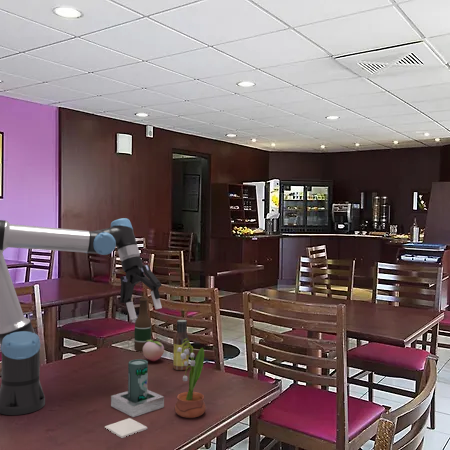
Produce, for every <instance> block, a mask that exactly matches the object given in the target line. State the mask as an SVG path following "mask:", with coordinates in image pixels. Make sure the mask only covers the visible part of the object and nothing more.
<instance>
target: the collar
mask: <svg viewBox="0 0 450 450" xmlns="http://www.w3.org/2000/svg"><path fill="white" fill-rule="evenodd" d="M110 406H111V407H112V408H114V410H115V409H116V410H117V411H120V412H122V413H124V414H125V415H127V416H129V417H130V418H135V417H139V416H141V415H144V414H149V413H151V412H153V411H157V410H160V409H162V408H163V409H164V407H165V396H163V395H162V394H159V393H157V392H154V391H151V390H149V389H147V399H146V400H143V401H140V402H137V403H133V402H131V401H129V400H128V390H127V391H124V392H119V393H117V394H113V395H110Z"/></svg>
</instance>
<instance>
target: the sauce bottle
mask: <svg viewBox="0 0 450 450" xmlns="http://www.w3.org/2000/svg"><path fill="white" fill-rule="evenodd" d="M187 324H188V320H186V319H178V320H176V325H177V326H176V328H177V329H176V333H175V334H174V336H173V361H172V362H173V369H174V370H176V371H186V369H187V367H188V366H189V365H188V366H187V365H186V366H185V365H184V362H185V361H187V362H188V363H189V361H190V360H189V359H190V357H187V356H190V353H189V354H187V355H186V358H187V359H185V358H184V360H182V359H181V354H182V350H181V352H179V351H177V350H178V348H179V347H180V346H181V345H182V344H184V342H185V341H189V342H190V338H189V335H188V332H187ZM186 338H188V340H187V339H186ZM184 339H186V340H184ZM183 340H184V341H183ZM187 344H188V342H187V343H185V345H184V348H185V347H186V346H187ZM188 345H189V344H188ZM182 347H183V345H182V346H181V347H180V348H182ZM184 348H183V353H184V350H185V349H186V348H185V349H184ZM187 349H189V350H190V347H187ZM187 370H188V369H187Z"/></svg>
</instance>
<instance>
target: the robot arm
mask: <svg viewBox="0 0 450 450" xmlns="http://www.w3.org/2000/svg"><path fill="white" fill-rule="evenodd" d="M8 248H11V249H26V250H27V249H29V250H42V251H43V250H44V251H59V252H74V253H84V254H98V255H103V256H107V255H110V254H112V253H113V251H115V249H116V250H117V253H118V257H119V261H120V262H121V263H120V264H121V268H122V270H123V272H124V273H125V275H124V276H119V280H120V283H121V284H120V295H119V296H120V297H119V302H120V304H124V305H125V308H126V309H125V310H126V311H127V312H128V315H129V320H130V321H133V320H136V319H137V318H138V315H137V313H136V309H135V305H134V302H133V300H132V299H133V298H132V297H133V294H134V288H135V287H136V285H137V284H139V283H143V284H144V285H145V286H146V287H147V288H148V289H150V295H151V298H152V302H153V306H154V309H155V310H159V309H162V308H163V307H162V303H161V294H160V291H159V288H160V287H162V283H161V281H160V280H159V279H158V278H157V277H156V275H155V273H154V272H153V271H152V270H151V267H150V265H147V264H146V265H144V264H143V260H142V257H141V256H140V255H141V254H140V251H139V247H138V243H137V239H136V235H135V231H134V228H133V226H132V222H131V221H130V219H129V218H126V217H125V218H124V217H123V218H118V219H115V220H113V221H111V223H110V227H108V228H102V229H98V230H92V231H91V230H81V229H73V228H72V229H71V228H70V229H69V228H58V227H50V226H49V227H48V226H36V225H25V224H23V225H22V224H13V223H10V222H9V221H8V220H4V219H0V350H1V374H0V375H1V384H0V415H5V416H19V415H27V414H30V413H34V412H36V411H39V410H41V409H42V408H44V407H45V405H46V396H45V393H44V391H43V387H42V384H41V381H40V380H41V379H40V375H41V374H40V372H41V371H40V367H41V366H40V363H41V361H40V356H41V355H40V354H41V349H40V348H41V341H40V337H39V335H38V334H37V333H36V332H35V330H34V327H33V323H32V322H31V319H30V318H27V317H25V315H24V312H23V309H22V307H21V303H20V300H19V298H18V295H17V292H16V289H15V286H14V283H13V281H12V277H11V275H10V272H9V268H8V265H7V262H6V259H5V257H4V256H5V255H4V251H5V250H6V249H8Z"/></svg>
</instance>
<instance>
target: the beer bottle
mask: <svg viewBox="0 0 450 450" xmlns="http://www.w3.org/2000/svg"><path fill="white" fill-rule="evenodd" d="M138 311H139V312H138V315H137V319H135V322H134V337H133V338H134V340H133V341H134V344H133V345H134V351H136V352H139V353H143V346H144V345H145V344H146V343H147V342H148V341H147V340H152V320H151V318H150V317H149V315H148V298H147V297H141V298H139V310H138ZM146 341H147V342H146Z"/></svg>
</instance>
